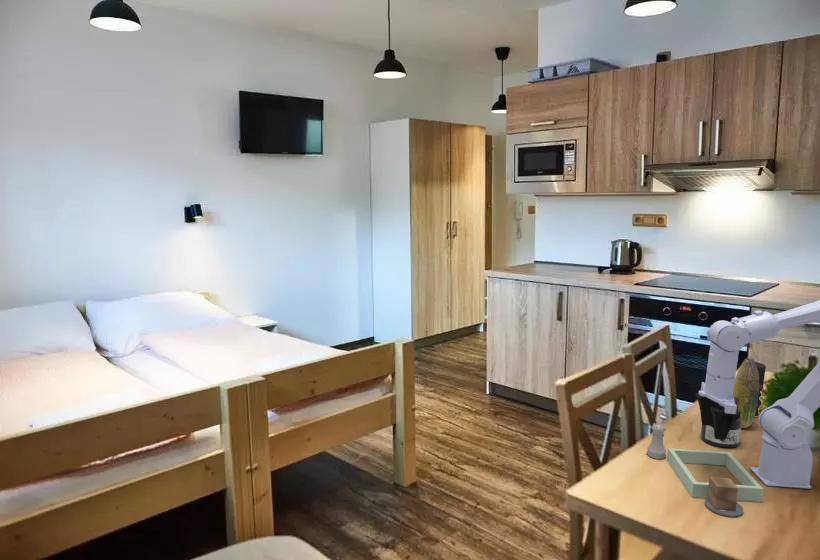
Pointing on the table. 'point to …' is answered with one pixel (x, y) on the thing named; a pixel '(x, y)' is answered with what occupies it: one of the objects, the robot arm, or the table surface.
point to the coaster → (725, 512)
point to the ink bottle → (732, 436)
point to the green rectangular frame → (700, 489)
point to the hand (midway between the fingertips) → (713, 431)
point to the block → (722, 493)
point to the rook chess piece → (657, 442)
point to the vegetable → (747, 391)
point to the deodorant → (760, 382)
